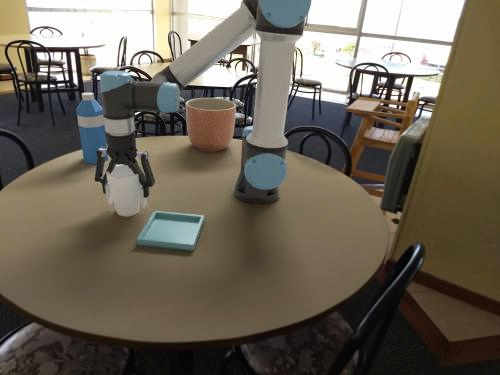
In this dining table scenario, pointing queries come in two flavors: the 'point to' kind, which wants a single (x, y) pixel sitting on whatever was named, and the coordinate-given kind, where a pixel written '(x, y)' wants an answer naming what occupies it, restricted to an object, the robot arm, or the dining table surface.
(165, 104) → the robot arm
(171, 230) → the tray
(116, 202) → the foam cup
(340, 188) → the dining table surface
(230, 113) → the planter
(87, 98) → the water bottle
